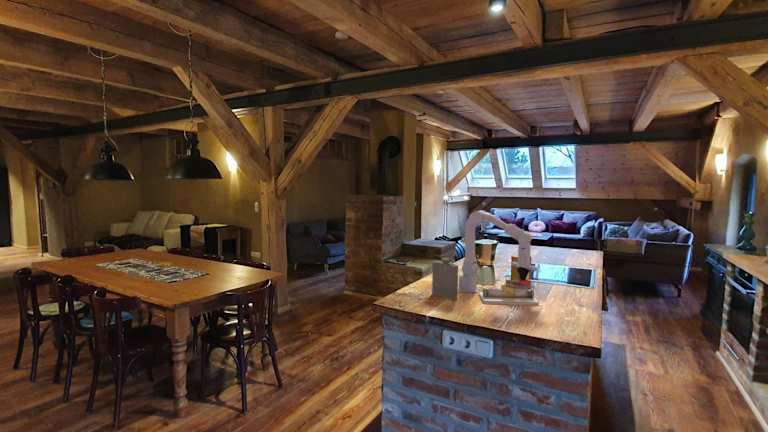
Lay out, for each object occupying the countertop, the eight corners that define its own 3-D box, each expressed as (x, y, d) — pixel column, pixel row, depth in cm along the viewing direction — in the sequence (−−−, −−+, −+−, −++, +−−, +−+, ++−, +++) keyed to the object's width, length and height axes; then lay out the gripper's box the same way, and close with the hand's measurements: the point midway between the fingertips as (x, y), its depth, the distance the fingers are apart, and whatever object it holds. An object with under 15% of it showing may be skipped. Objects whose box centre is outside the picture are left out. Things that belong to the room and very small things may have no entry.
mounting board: (483, 303, 188) (483, 300, 187) (479, 295, 202) (479, 292, 201) (538, 305, 185) (538, 302, 185) (530, 296, 199) (530, 293, 199)
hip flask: (430, 294, 203) (431, 256, 201) (436, 292, 206) (436, 255, 204) (454, 301, 191) (455, 261, 189) (459, 299, 193) (460, 260, 192)
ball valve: (484, 299, 191) (484, 284, 191) (482, 295, 197) (482, 281, 197) (534, 300, 189) (534, 285, 189) (530, 297, 195) (531, 282, 194)
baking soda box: (519, 285, 221) (520, 257, 220) (510, 282, 227) (511, 255, 226) (530, 282, 226) (531, 255, 225) (521, 280, 232) (522, 254, 231)
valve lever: (506, 283, 191) (506, 280, 191) (504, 282, 194) (505, 279, 194) (531, 284, 191) (531, 280, 191) (529, 282, 193) (529, 279, 193)
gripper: (507, 254, 198) (506, 280, 199) (530, 259, 185) (529, 287, 187) (516, 253, 201) (515, 278, 203) (540, 257, 189) (539, 285, 190)
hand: (523, 282), depth 195 cm, fingers closed
